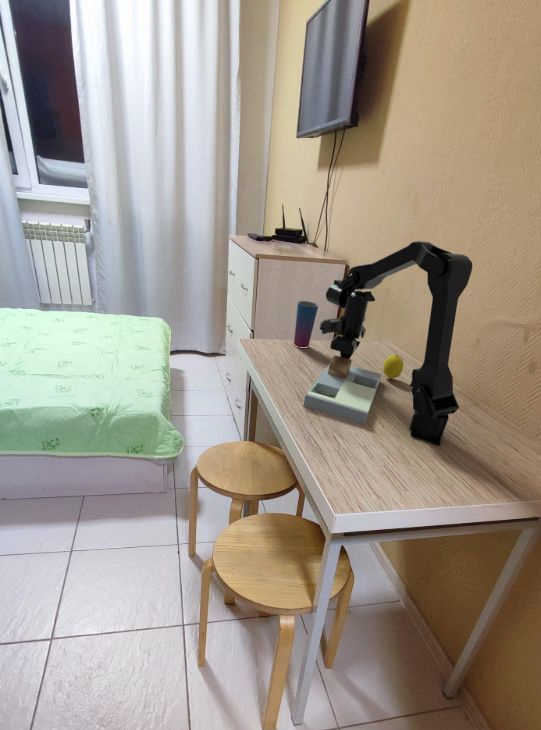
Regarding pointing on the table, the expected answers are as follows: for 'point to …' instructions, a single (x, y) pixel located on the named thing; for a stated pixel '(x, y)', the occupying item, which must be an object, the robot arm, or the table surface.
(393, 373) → the lemon
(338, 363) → the block
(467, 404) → the table surface
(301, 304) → the cup
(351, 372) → the board
